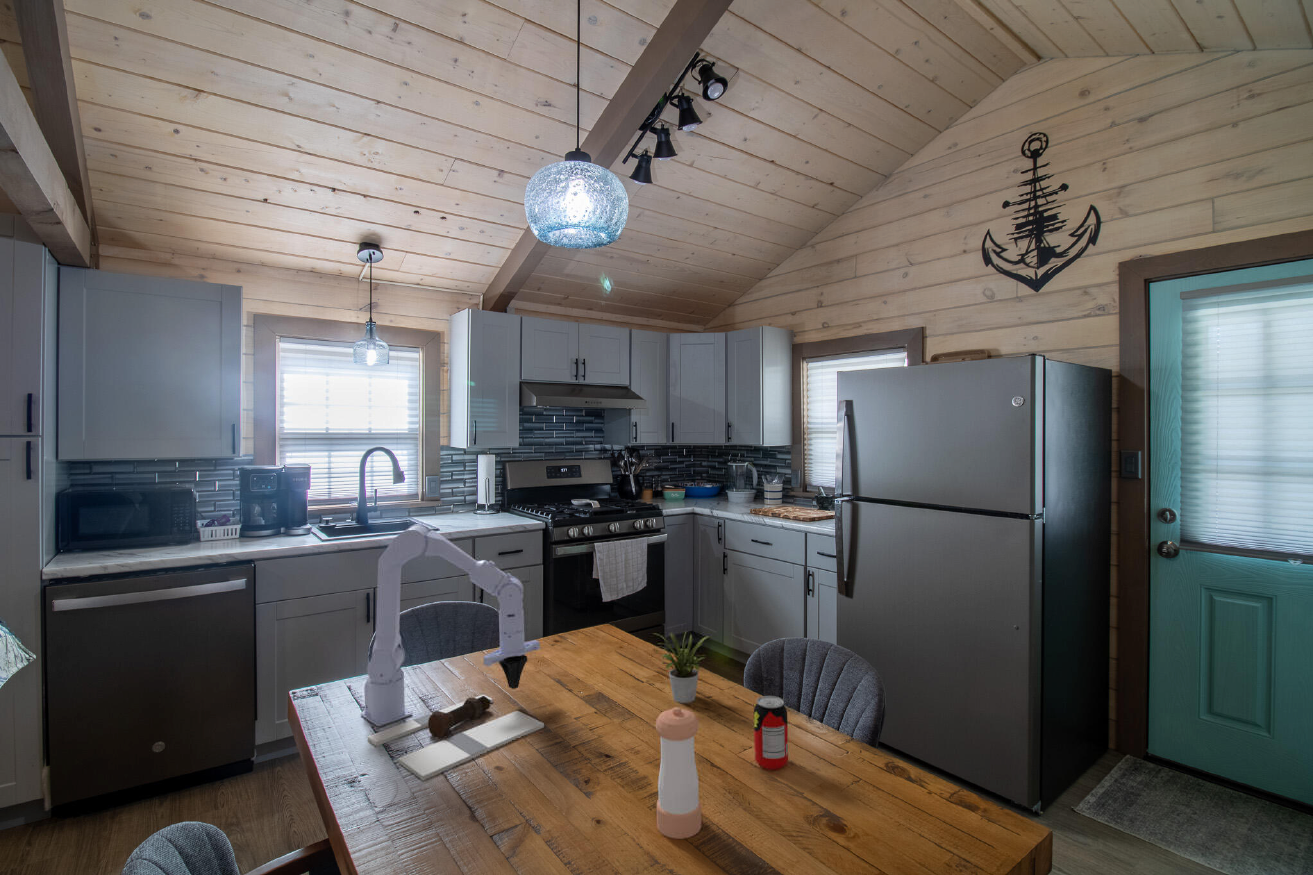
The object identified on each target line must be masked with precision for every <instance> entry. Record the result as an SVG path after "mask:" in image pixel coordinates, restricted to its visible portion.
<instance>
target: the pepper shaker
mask: <svg viewBox="0 0 1313 875" xmlns="http://www.w3.org/2000/svg"><path fill="white" fill-rule="evenodd" d="M699 726H700V725H699V721H698V718H697V716H696V715H695V714H694V712H692V711H690V710H688V709H684V708H681V707H678V706H675V707H673V708H670V709H667V710H665V711H662V712H661V713H659V715H658V717H657V718H656V720H655V730H656V732H657V733H658V735H659V736H660V764H659V773H658V782H657V788H658V789H657V790H658V791H657V792H658V794H657V795H658V800H657V801H656V827H657V830H658V832H659V833H661V834H662V835H664V836H665V837H667V838H672V839H682V840H683V839H687V838H691V837H693V836H695V835H696V834H698V833H699V832H700V830H701V828H702V802H701V800H700V799H699V775H698V770H697V765H696V760H695V736H696V734H697V733H698V731H699Z"/></svg>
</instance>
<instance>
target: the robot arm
mask: <svg viewBox="0 0 1313 875" xmlns="http://www.w3.org/2000/svg"><path fill="white" fill-rule="evenodd" d="M423 552H425V553H424V557H435V556H436V557H437V556H438V557H441V558H443V559H444V560H446V561H448V562H449V563H451V564H453V565H454V566H456V567H458V568H459V569H462V570H463V571H465V572H466V573H468V576H469V581H470V582H471V583H473V584H475V585H476V586H478V587H479V588H480V589H482V590H484V591H485V592H487V593H489V594H490V595H491V596H495V597H496V598H497V601H498V603H499V611H498V620H499V621H498V623H499V624H498V625H499V628H498V629H499V632H498V633H499V648H498V649H497V650H494V651H492V652H490V653H489V654H487V655H486V654H485V655H483V665H485V666H487V667H490V666H493V664H496V663H499V665H500V667H501V669H502V670H503V672H504V673H503V674H504V675H505V678H506V681H507V686H508V688H510V689H512V690H515V689H518V688H519V685H520V681H521V677H522V672H523V671H524V668H525V666H526V663H528V656H527V655H526V654H527V653H530V652H532V651H533V652H534V651H538V650H540V649H541V647H540V645H541V644H540V643H541V642H540V641H538V640H536V639H534V640H530V641H525V616H524V614H525V610H524V609H523V608H524V602H523V599H524V586H523V583H522V581H521V580H519V578H518V577H517V576H513V575H512V574H510V573H509V572H507V573H506V572H504V571H503V570H502V569H499V568H498V567H497V566H495V564H496V563H495V562H494V561H493V560H489V561H488V560H486V559H484V560H483V559H481V560H476V559H474V558H473V557H472V556H471V555H470V554H468V553H466V552H465V551H463V550H462V549H461V548H460V547H459V546H456V544H454V543H453V542H452V541H450V540H449V539H447V538H446V537H445V536H443V535H442V534H440V533H439V532H437V531H435V530H433V529H430V528H429V527H428V526H426V525H424V524H420V523H419V524H417V523H416V524H413V525H411V526H409V527H408V528H406V529H405V530H404V531H402V532H401V533H399V534H398V535H396V536H395V537H394V538H392V540H391V542H390V544H388V546H386V549H385V550H384V551H383V553H382V555H381V556H380V557H379V558H378V563H377V588H376V589H377V590H376V591H377V592H376V624H375V640H374V643H373V647H372V650H371V652H372V654H371V658H370V660H369V662H368V665H367V667H366V673H367V675H368V678H367V679H366V681H365V683H364V711H363V712H361V713H360V716H362V717H363V718H365V719H366V720H368V721H369V722H371V723H372V724H374V725H375V726H377V727H381V726H385V725H387V724H391V723H394V722H395V721H399V720H401V719H404V718H407V717H410V716H412V715H413V712H412V711H411V710H408V709H407V708H405V707H406V706H405V705H406V703H405V675H404V674H405V673H404V671H403V669H402V668H401V665H402V664H403V663H404V661H405V658H406V652H405V650H404V648H403V645H402V637H401V634H400V619H401V618H400V616H401V590H402V589H401V587H402V582H401V581H402V580H401V579H402V566H404V564H406V563H407V562H408V561H410V560H412V559H414V558H416V557H418V556H420V555H421V554H422V553H423Z"/></svg>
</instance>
